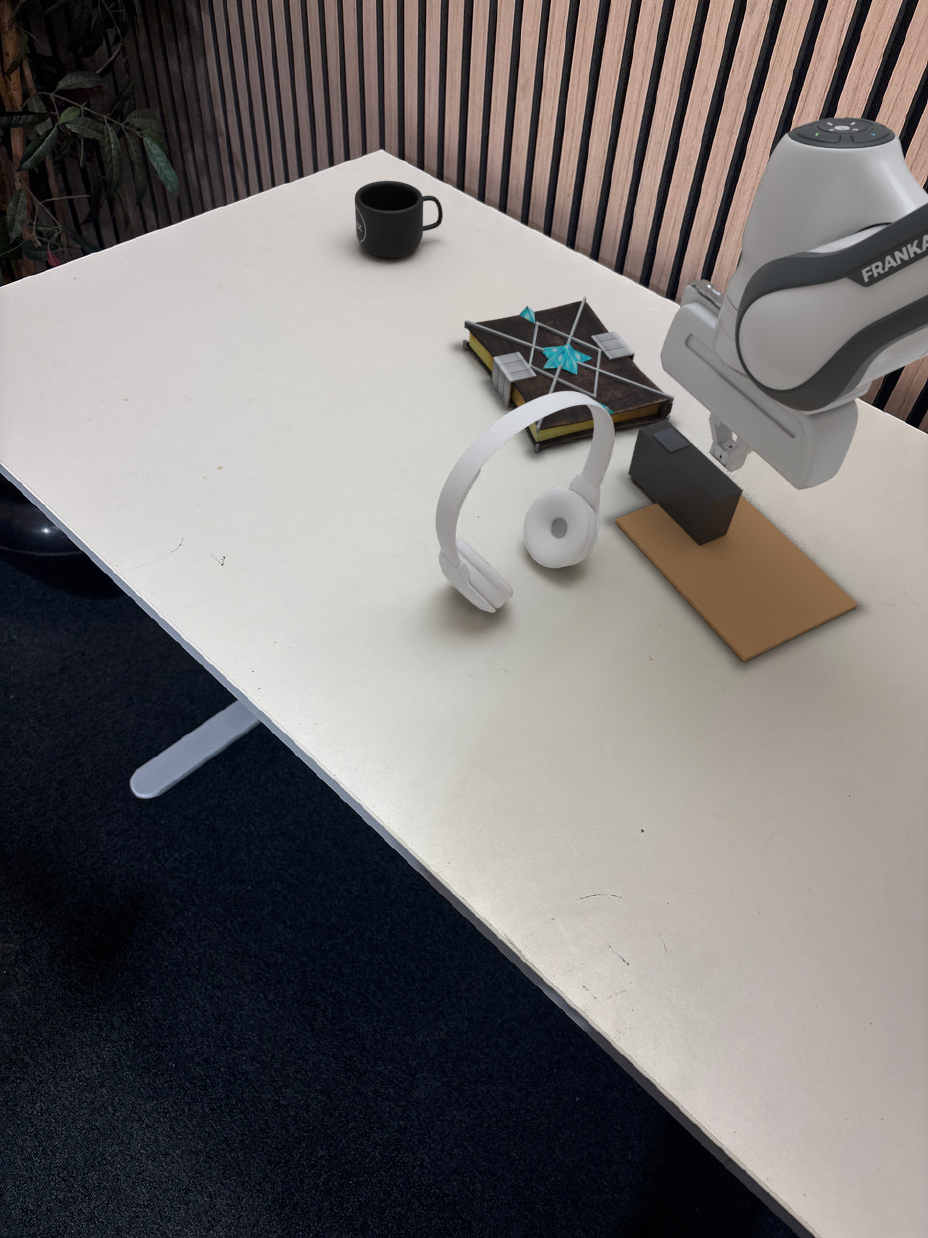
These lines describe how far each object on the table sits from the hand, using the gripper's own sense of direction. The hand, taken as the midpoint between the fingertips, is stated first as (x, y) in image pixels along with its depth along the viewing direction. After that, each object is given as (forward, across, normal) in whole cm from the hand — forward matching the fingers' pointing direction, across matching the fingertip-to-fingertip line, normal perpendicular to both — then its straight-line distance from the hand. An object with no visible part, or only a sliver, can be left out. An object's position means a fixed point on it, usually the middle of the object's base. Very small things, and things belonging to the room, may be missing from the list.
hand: (725, 461), depth 85 cm
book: (+10, -27, +1) cm, 29 cm away
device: (+6, +2, 0) cm, 6 cm away
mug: (+10, -63, -2) cm, 64 cm away
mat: (+9, +5, 0) cm, 11 cm away
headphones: (+10, -3, -20) cm, 22 cm away
